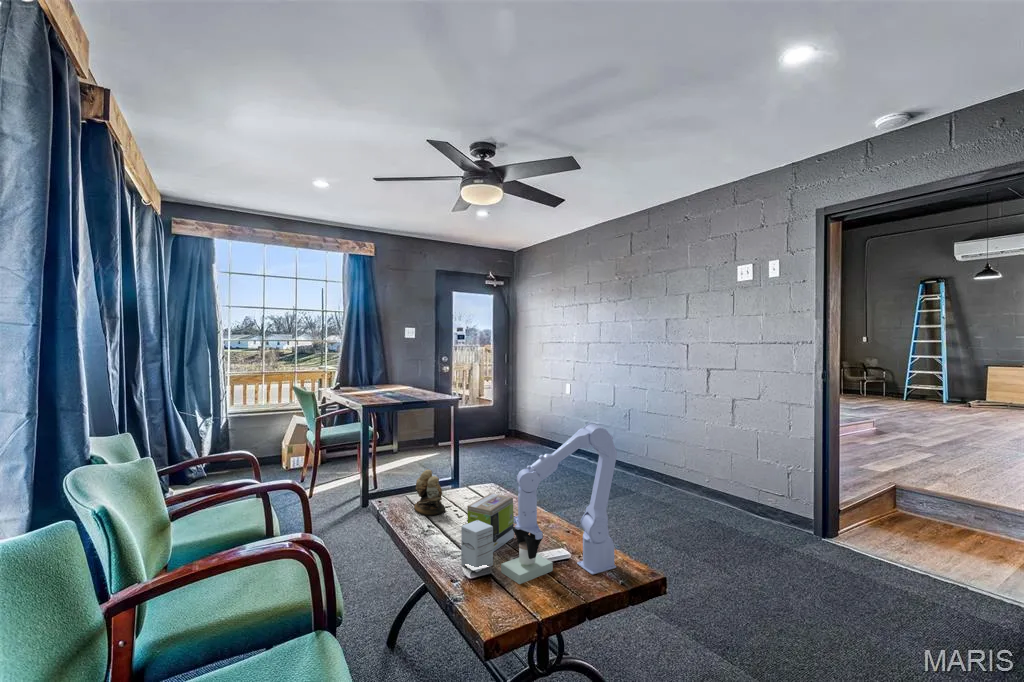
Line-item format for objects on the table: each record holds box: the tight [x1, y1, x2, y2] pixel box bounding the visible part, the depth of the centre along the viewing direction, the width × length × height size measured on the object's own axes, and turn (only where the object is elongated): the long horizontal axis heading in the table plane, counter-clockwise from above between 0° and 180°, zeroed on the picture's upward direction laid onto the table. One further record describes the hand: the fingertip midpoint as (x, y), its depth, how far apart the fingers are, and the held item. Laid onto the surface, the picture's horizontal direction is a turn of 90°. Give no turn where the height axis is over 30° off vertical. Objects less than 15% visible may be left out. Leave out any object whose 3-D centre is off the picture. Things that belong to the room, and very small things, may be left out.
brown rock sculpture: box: [413, 469, 446, 517], centre depth 198 cm, size 18×12×17 cm, turn 34°
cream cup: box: [518, 541, 536, 565], centre depth 145 cm, size 5×5×5 cm
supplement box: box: [460, 520, 494, 567], centre depth 149 cm, size 7×7×13 cm
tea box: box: [466, 493, 515, 553], centre depth 165 cm, size 15×10×15 cm, turn 149°
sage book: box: [500, 553, 554, 585], centre depth 145 cm, size 13×9×3 cm
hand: (527, 554), depth 145 cm, fingers closed on cream cup, 5 cm apart
